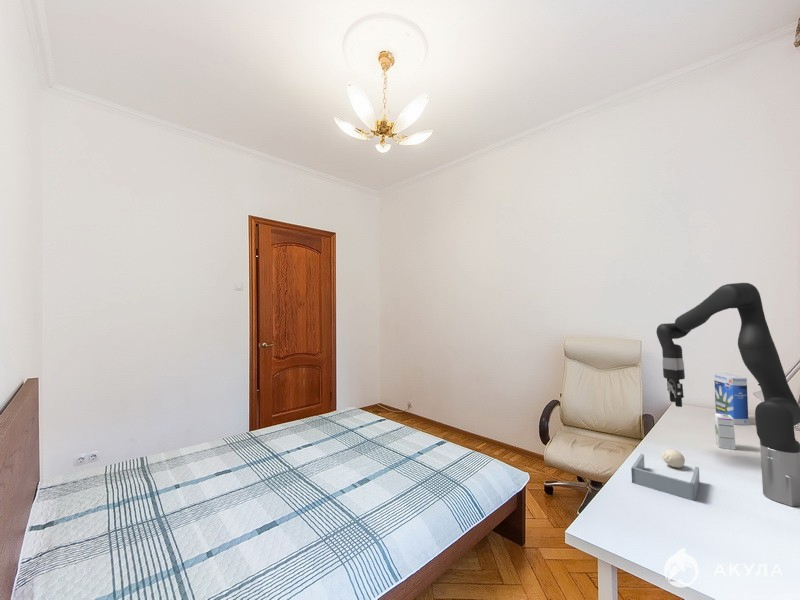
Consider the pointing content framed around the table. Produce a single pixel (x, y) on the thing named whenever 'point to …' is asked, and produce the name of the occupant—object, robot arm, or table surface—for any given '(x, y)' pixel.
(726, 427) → the syrup box
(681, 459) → the cream rounded lump
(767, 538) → the table surface
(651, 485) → the grey u-shaped frame
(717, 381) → the string lights box
